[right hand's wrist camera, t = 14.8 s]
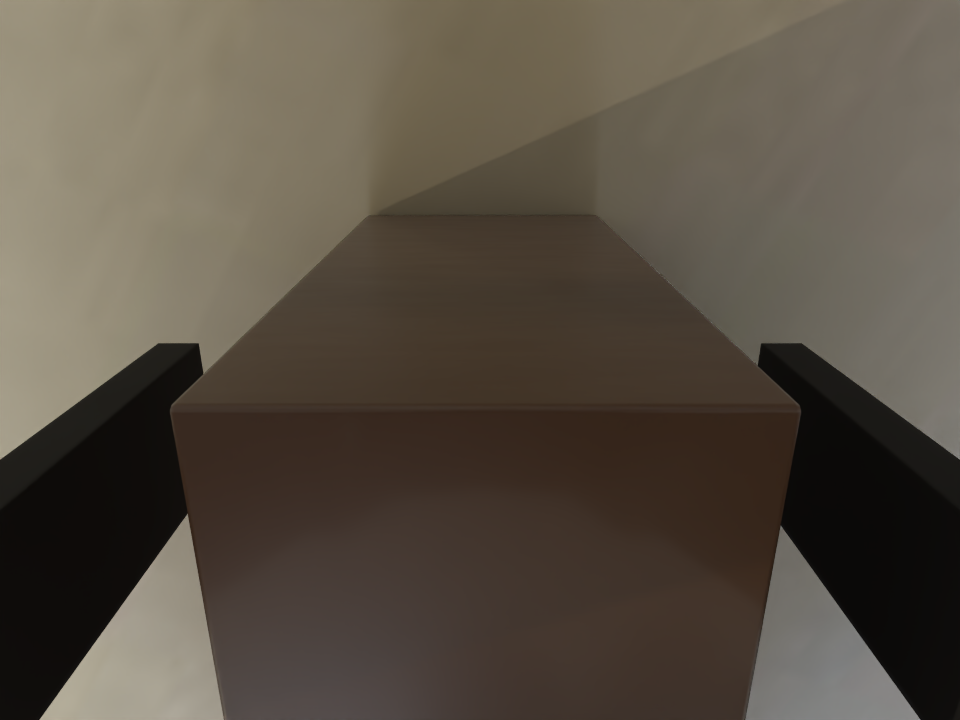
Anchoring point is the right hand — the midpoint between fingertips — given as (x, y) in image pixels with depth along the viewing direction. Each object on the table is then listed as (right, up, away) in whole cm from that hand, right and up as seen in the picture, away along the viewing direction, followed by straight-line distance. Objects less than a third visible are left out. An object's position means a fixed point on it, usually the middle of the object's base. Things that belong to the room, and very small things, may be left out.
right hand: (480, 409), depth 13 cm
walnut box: (0, -11, +7) cm, 13 cm away
